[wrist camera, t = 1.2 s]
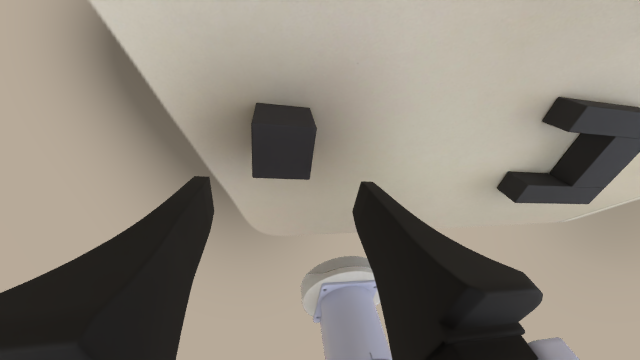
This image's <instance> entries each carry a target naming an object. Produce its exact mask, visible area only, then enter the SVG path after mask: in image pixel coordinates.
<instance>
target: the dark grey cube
mask: <svg viewBox="0 0 640 360" xmlns="http://www.w3.org/2000/svg"><path fill="white" fill-rule="evenodd" d="M251 126H252V176H253V178H276V179H306V180H309V179H310V173H311V165H312V158H313V151H314V144H315V136H316V129H317V128H316V125H315V122H314V119H313V116H312V113H311V110H310V108H304V107H293V106H283V105H272V104H261V103H256V107H255V111H254V115H253V119H252V123H251Z"/></svg>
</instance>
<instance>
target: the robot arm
mask: <svg viewBox="0 0 640 360" xmlns="http://www.w3.org/2000/svg"><path fill="white" fill-rule="evenodd" d="M352 212H353V216H354V221H355V225H356V229H357V232H358V235H359V237H360V240H361V243H362V245H363V248H364V250H365V253H366V256H367V258H368V261H369V264H370V266H371V269H372V272H373V275H374V279H375V280H369V281H350V282H331V283H323V284H322V285H321V288H320V293H319V297H318V301H317V305H316V309H315V313H314V318H313V321H314V322H320V324H321V332H322V339H323V346H324V353H325V360H579V358H578V357H577V356H576V355H575V354H574V353H573V351H572V350H571V349H570V348H569V347H568V346H567V345H566V343H565V342H564V341H563V340H562V339H561V338H558V337H557V338H549V339H542V340H536V341H532V342H530V343H527V342H526V341H525V340H524V338H522V336H521V335H523V334H524V333H525V330H524V329H523V327H522V326H521V325H520V324H519V321H520V320H521V319H523V318H524V317H525V316H526V315H528V314H529V313H530V312H532V311H533V310H534V309H535V308H536V307H537V306H538V305H539V304H540V303H541V301H542V297H543V294H542V292H541V291H540V290H539V289H538V288H537V287H536V286H535V284H534V283H533V282H532V281H531V280H530V279H529V278H528V277H527V276H526V275H525V274H524V273H523V272H521V271H518V270H516V269H514V268H511V267H508V266H506V265H503V264H501V263H499V262H496V261H494V260H491V259H489V258H487V257H485V256H483V255H480V254H479V253H476V252H474V251H472V250H470V249H468V248H466V247H464V246H462V245H460V244H459V243H457V242H455V241H453V240H451V239H449V238H448V237H446V236H444V235H442V234H441V233H439V232H438V231H436V230H435V229H433V228H432V227H430V226H428V225H427V224H425V223H424V222H423V221H421V220H420V219H418V218H417V217H416V216H414V215H413V214H412V213H410V212H409V211H408V210H406V209H405V208H404V207H403V206H401V205H400V204H399V203H398V202H397V201H395V200H394V199H393V198H392V197H391V196H389V195H388V194H387V193H386V192H385V191H383V190H382V189H381V188H380V187H379V186H377V185H376V184H375V183H373V182H361V184H360V188H359V191H358V194H357V198H356V201H355V205H354V208H353V211H352ZM213 215H214V207H213V199H212V192H211V185H210V178H209V177H199V176H194V178H192V179H191V180H190V181H188V182H187V183H186V184H185V185H184V186H183V187H182V188H180V189H179V190H178V191H177V192H176V193H175V194H173V195H172V196H171V197H170V198H169V199H167V200H166V201H165V202H164V203H163V204H161V205H160V206H159V207H157V208H156V209H155V210H153V211H152V212H151V213H149V214H148V215H147V216H146V217H144V218H143V219H141V220H140V221H139V222H137V223H136V224H134V225H133V226H131V227H130V228H128V229H127V230H125V231H123V232H122V233H120V234H119V235H117V236H115V237H114V238H112V239H111V240H109V241H107V242H105V243H103V244H102V245H100V246H98V247H96V248H94V249H93V250H91V251H89V252H87V253H86V254H83V255H82V256H80V257H78V258H76V259H74V260H72V261H70V262H68V263H66V264H64V265H62V266H60V267H58V268H56V269H54V270H51V271H49V272H47V273H45V274H43V275H41V276H39V277H37V278H34V279H32V280H30V281H28V282H25V283H23V284H21V285H18V286H16V287H14V288H12V289H9V290H7V291H4V292H2V293H0V360H176V355H177V350H178V345H179V340H180V335H181V330H182V326H183V321H184V317H185V312H186V308H187V303H188V299H189V295H190V290H191V286H192V283H193V279H194V276H195V273H196V270H197V267H198V264H199V262H200V259H201V256H202V253H203V250H204V247H205V244H206V242H207V239H208V236H209V233H210V229H211V224H212V220H213ZM377 290H378V294H379V298H380V302H381V306H382V311H383V315H384V319H385V324H386V329H387V333H388V339H389V344H390V349H389V346H388V343H387V340H386V337H385V334H384V331H383V328H382V325H381V322H380V319H379V316H378V313H377V310H376V307H375V304H374V301H373V298H374V295H375V293H376V291H377ZM390 350H391V352H390Z"/></svg>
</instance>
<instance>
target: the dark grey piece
mask: <svg viewBox="0 0 640 360" xmlns="http://www.w3.org/2000/svg"><path fill="white" fill-rule="evenodd" d="M543 122H545V123H547V124H550V125H552V126H555V127H557V128H560V129H562V130H565V131H567V132H575V133H581V134H580V136H579V137H578V138H577V139H576V141H575V142H574V143H573V144H572V146H571V147H570V148H569V150H568V151H567V152H566V153H565V155H564V156H563V157H562V158H561V160H560V161H559V162H558V163H557V165H556V166H555V167H554V169H553V170H552V171H551V172H550V174H543V173H523V172H508V173H507V175H506V176H505V178H504V179H503V181H502V182H501V184H500V185H499V187H498V188H497V189H498V190H500V191H501V192H502V193H503V194H505V195H506V196H507V197H508V198H510V199H511V200H512V201H513V202H515V203H557V204H589V203H590V202H591V201H592V200H593V199H594V198H595V197H596V196H597V195H598V194H599V193H600V192H601V191H602V190H603V189H604V188H605V187H606V186H607V185H608V184H609V183H610V182H611V181H612V180H613V179H614V178H615V177H616V176H617V175H618V174H619V173H620V172H621V171H622V170H623V169H624V168H625V167H626V166H627V165H628V164H629V163H630V162H631V161H632V159H633V158H634V157H635V156H636V155H637V154H638V153H639V152H640V108H639V107H631V106H623V105H615V104H608V103H600V102H592V101H585V100H577V99H569V98H561V97H559V98H558V99H557V100H556V102H555V103H554V105H553V106H552V108H551V109H550V111H549V112H548V114H547V115H546V117H545V118H544V120H543Z"/></svg>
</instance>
